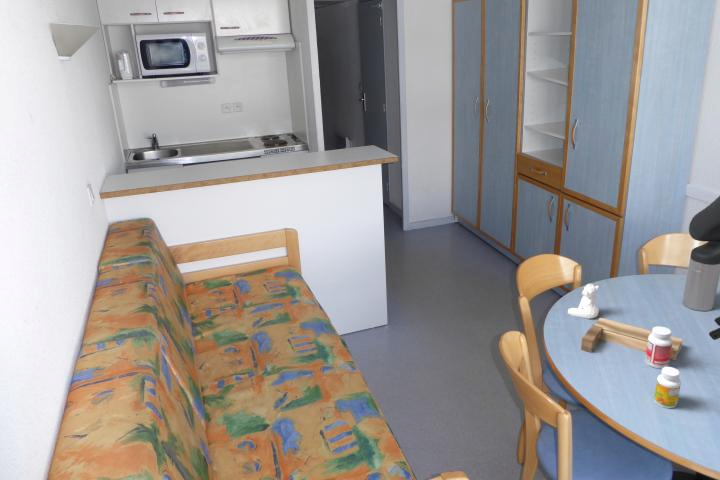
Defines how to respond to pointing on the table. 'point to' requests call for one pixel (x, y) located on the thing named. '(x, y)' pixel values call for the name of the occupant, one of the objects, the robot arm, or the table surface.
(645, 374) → the table surface
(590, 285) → the seated beast figurine
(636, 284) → the table surface
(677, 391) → the supplement bottle
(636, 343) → the wooden l-shaped block
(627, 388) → the table surface
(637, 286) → the table surface
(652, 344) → the pill bottle
